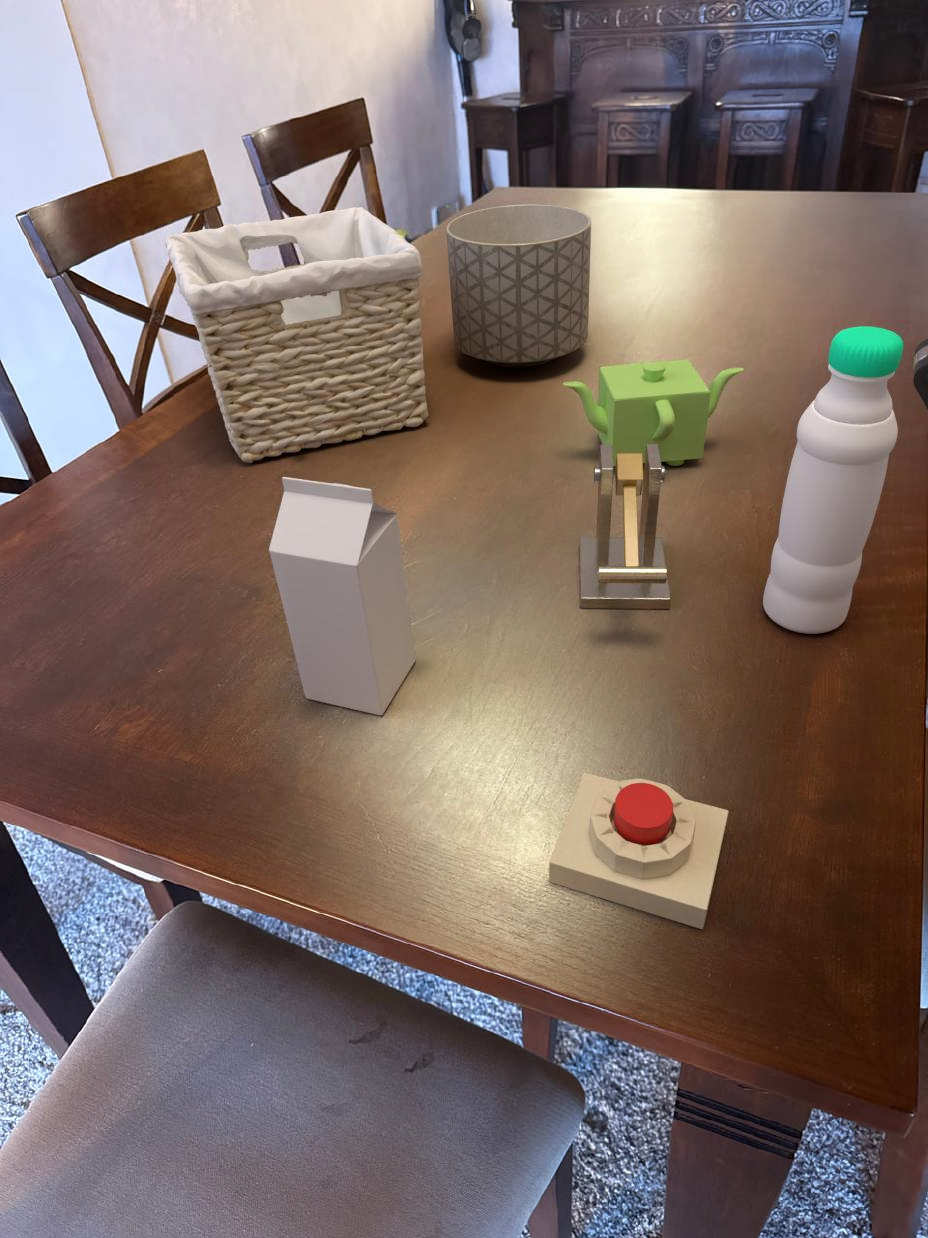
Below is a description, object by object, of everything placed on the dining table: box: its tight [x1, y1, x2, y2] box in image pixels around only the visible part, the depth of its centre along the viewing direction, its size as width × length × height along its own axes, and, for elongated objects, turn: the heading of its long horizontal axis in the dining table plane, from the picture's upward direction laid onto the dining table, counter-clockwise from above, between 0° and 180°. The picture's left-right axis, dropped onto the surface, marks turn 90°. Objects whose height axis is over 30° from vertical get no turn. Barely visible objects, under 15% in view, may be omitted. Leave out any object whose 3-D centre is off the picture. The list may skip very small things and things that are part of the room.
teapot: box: [562, 359, 745, 467], centre depth 97 cm, size 15×13×11 cm
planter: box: [445, 203, 592, 369], centre depth 119 cm, size 19×19×18 cm
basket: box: [164, 206, 429, 464], centre depth 109 cm, size 27×27×22 cm
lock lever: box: [598, 453, 668, 584], centre depth 73 cm, size 12×6×2 cm, turn 174°
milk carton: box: [268, 476, 417, 716], centre depth 67 cm, size 7×7×19 cm
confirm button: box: [614, 783, 673, 845], centre depth 55 cm, size 4×4×2 cm
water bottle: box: [762, 325, 904, 635], centre depth 69 cm, size 7×7×25 cm
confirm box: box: [548, 772, 730, 930], centre depth 57 cm, size 10×8×4 cm
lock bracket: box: [578, 444, 672, 610], centre depth 78 cm, size 10×8×13 cm
